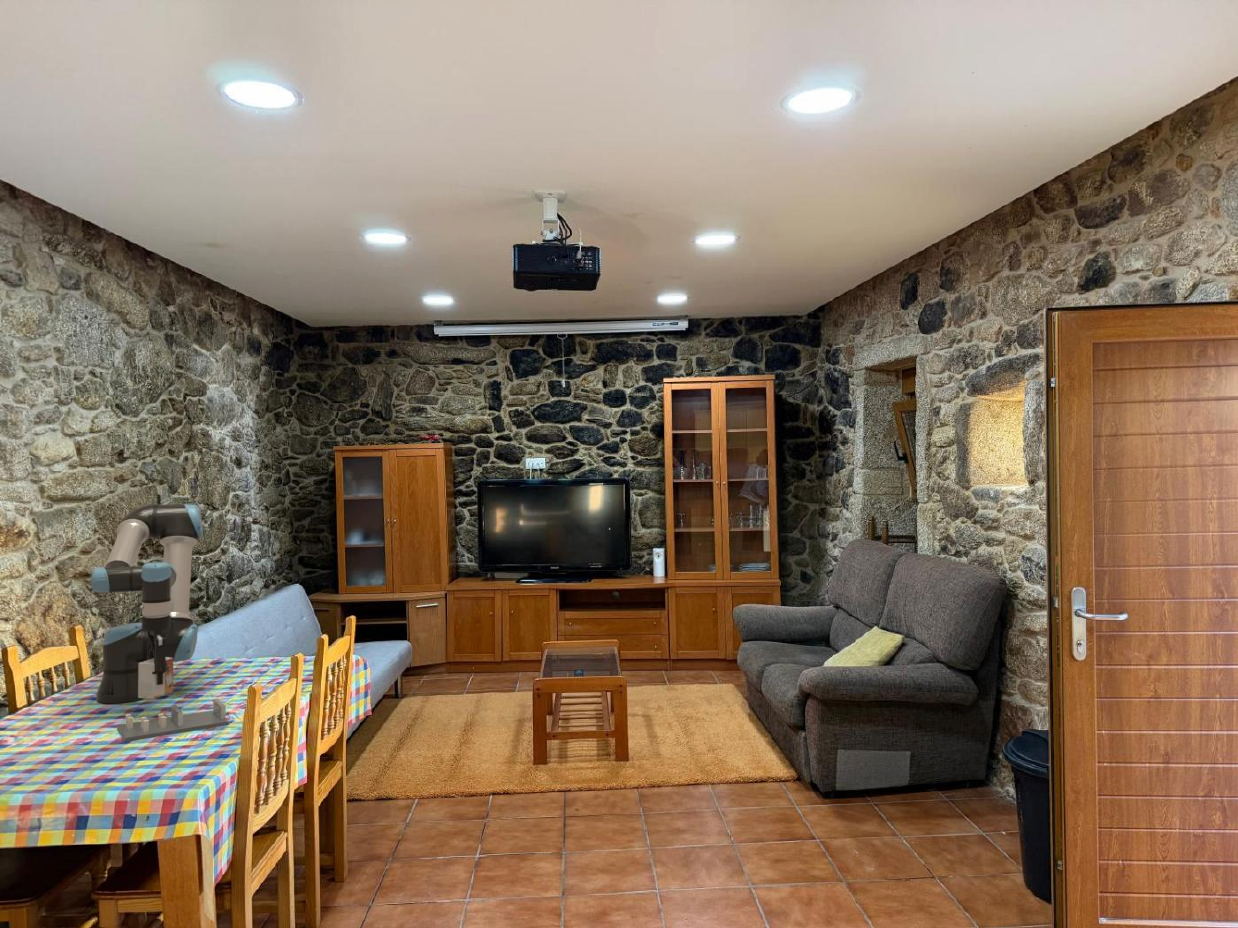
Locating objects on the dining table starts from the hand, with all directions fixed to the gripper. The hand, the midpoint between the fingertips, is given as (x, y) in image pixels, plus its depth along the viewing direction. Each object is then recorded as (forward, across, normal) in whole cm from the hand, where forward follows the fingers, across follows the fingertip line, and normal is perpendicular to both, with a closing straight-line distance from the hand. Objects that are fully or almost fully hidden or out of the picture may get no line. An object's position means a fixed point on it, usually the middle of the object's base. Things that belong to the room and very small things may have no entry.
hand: (156, 691), depth 254 cm
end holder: (+7, +14, +9) cm, 18 cm away
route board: (+7, +13, +2) cm, 15 cm away
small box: (+1, 0, 0) cm, 1 cm away
